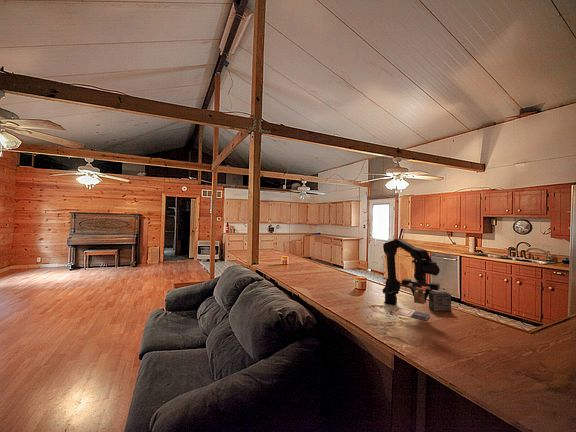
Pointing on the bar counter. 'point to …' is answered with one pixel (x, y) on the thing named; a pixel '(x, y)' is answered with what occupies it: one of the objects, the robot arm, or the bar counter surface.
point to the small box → (440, 301)
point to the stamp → (419, 296)
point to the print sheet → (403, 311)
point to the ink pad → (420, 315)
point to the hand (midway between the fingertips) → (420, 299)
